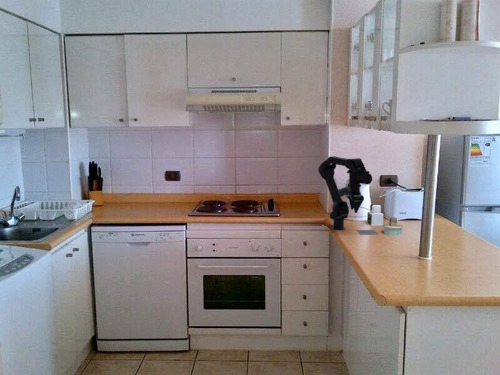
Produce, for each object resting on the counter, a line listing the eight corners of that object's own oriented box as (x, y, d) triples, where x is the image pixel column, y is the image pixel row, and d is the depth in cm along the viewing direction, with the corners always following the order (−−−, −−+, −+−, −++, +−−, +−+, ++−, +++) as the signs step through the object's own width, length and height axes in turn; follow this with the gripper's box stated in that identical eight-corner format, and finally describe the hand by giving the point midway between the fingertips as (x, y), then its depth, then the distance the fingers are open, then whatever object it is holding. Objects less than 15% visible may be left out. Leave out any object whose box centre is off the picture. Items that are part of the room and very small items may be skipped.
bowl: (381, 231, 239) (382, 224, 238) (398, 231, 238) (398, 224, 238) (386, 236, 230) (386, 228, 229) (403, 235, 230) (404, 228, 229)
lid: (380, 224, 238) (381, 216, 238) (399, 224, 238) (399, 215, 238) (386, 228, 229) (386, 220, 228) (405, 228, 228) (405, 220, 228)
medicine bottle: (367, 223, 258) (367, 203, 256) (378, 223, 259) (379, 203, 257) (371, 226, 251) (371, 205, 249) (383, 225, 252) (383, 205, 250)
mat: (356, 230, 241) (356, 230, 241) (374, 230, 241) (374, 229, 241) (360, 235, 232) (360, 234, 232) (379, 235, 231) (379, 234, 231)
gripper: (336, 180, 240) (335, 207, 242) (342, 184, 221) (341, 215, 224) (356, 179, 240) (355, 207, 242) (364, 184, 221) (363, 214, 223)
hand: (353, 211), depth 233 cm, fingers open, 9 cm apart
